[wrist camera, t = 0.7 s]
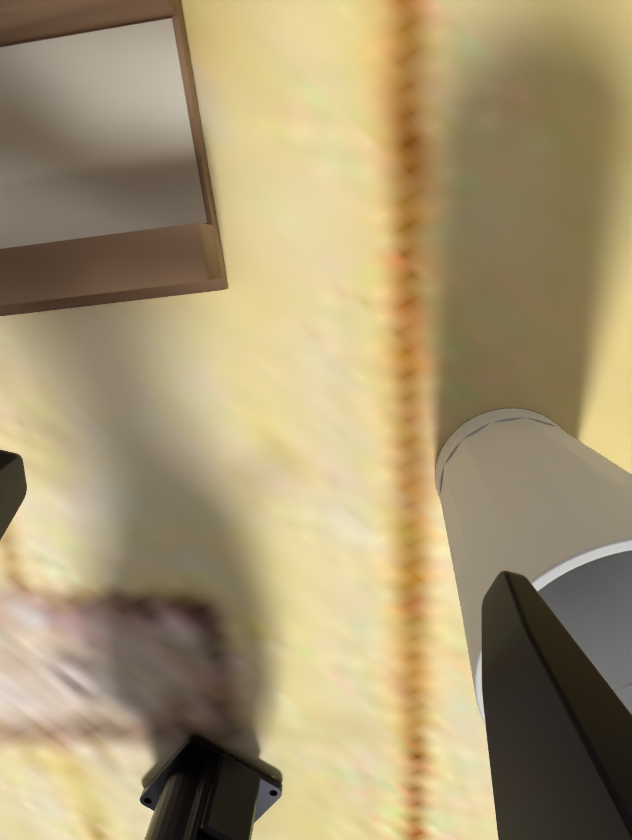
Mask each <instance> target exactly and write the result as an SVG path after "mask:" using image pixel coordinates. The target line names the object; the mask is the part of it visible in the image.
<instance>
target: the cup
mask: <svg viewBox="0 0 632 840" xmlns="http://www.w3.org/2000/svg"><path fill="white" fill-rule="evenodd" d="M435 484H436V489H437V493H438V496H439V499H440V501H441V504H442V510H443V515H444V520H445V525H446V531H447V536H448V541H449V547H450V552H451V557H452V563H453V568H454V573H455V578H456V584H457V589H458V594H459V600H460V605H461V610H462V617H463V623H464V629H465V635H466V641H467V647H468V653H469V659H470V665H471V671H472V677H473V683H474V689H475V695H476V700H477V705H478V708H479V711H480V714H481V717H482V719H483V721H484V724H485V726H486V723H485V715H484V706H483V695H482V650H481V607H482V601H483V598H484V596H485V594H486V593H487V591H488V589H489V588H490V586H491V585H492V583H493V582H494V580H495V578H496V577H497V575H498V574H499V573H500V572H501V571H510V572H514V573H518V574H522V575H524V576H525V577H526V578H527V579H528V580H529V581H530V582H531V584H532V585H533V586H534V588H535V589H536V590H537V592H538V593H539V594H540V595H541V597H542V598H543V599H544V601H545V602H546V603H547V605H548V606H549V607H550V609H551V610H552V611H553V612H554V614H555V615H556V616H557V618H558V619H559V620H560V622H561V623H562V624H563V625H564V627H565V628H566V629H567V631H568V632H569V633H570V635H571V636H572V637H573V638H574V640H575V641H576V642H577V644H578V645H579V646H580V648H581V649H582V650H583V652H584V653H585V654H586V655H587V657H588V658H589V659H590V661H591V662H592V663H593V665H594V666H595V667H596V668H597V670H598V671H599V672H600V674H601V675H602V676H603V678H604V679H605V680H606V681H607V683H608V684H609V685H610V687H611V688H612V689H613V691H614V692H615V693H616V695H617V696H618V697H619V698H620V700H621V701H622V702H623V704H624V705H625V706H626V708H627V709H628V710H629V711H630V713H631V714H632V474H630V473H628V472H627V471H625V470H624V469H622V468H621V467H619V466H618V465H616V464H614V463H613V462H611V461H610V460H608V459H607V458H605V457H604V456H602V455H600V454H599V453H597V452H596V451H594V450H593V449H591V448H590V447H588V446H586V445H585V444H583V443H582V442H580V441H579V440H577V439H576V438H574V437H572V436H571V435H569V434H568V433H566V432H565V431H564V430H562V429H561V428H560V427H559V426H558V425H557V424H556V423H554V422H553V421H552V420H550V419H549V418H547V417H545V416H543V415H541V414H539V413H536V412H533V411H529V410H524V409H516V408H507V409H498V410H493V411H489V412H486V413H483V414H481V415H478V416H476V417H474V418H472V419H470V420H469V421H467V422H466V423H464V424H463V425H462V426H460V427H459V428H458V429H457V430H456V431H455V432H454V433H453V434H452V435H451V436H450V437H449V439H448V440H447V441H446V443H445V444H444V446H443V448H442V450H441V452H440V454H439V457H438V460H437V464H436V469H435Z"/></svg>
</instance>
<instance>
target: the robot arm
mask: <svg viewBox="0 0 632 840" xmlns="http://www.w3.org/2000/svg"><path fill="white" fill-rule="evenodd" d="M26 491H27V484H26V478H25V471H24V465H23V459H22V457H21V456H20V455H19V454H17V453H12V452H8V451H4V450H0V540H1V538H2V536H3V535H4V533H5V531H6V529H7V528H8V526H9V524H10V523H11V521H12V519H13V517H14V516H15V514H16V512H17V510H18V509H19V507H20V505H21V504H22V502H23V500H24V498H25V495H26ZM481 650H482V695H483V706H484V715H485V723H486V732H487V741H488V750H489V759H490V768H491V777H492V785H493V794H494V803H495V812H496V821H497V830H498V838H499V840H632V714H631V713H630V711H629V710H628V709H627V708H626V706H625V705H624V704H623V702H622V701H621V700H620V698H619V697H618V696H617V695H616V693H615V692H614V691H613V689H612V688H611V687H610V685H609V684H608V683H607V681H606V680H605V679H604V678H603V676H602V675H601V674H600V672H599V671H598V670H597V668H596V667H595V666H594V665H593V663H592V662H591V661H590V659H589V658H588V657H587V655H586V654H585V653H584V652H583V650H582V649H581V648H580V646H579V645H578V644H577V642H576V641H575V640H574V638H573V637H572V636H571V635H570V633H569V632H568V631H567V629H566V628H565V627H564V625H563V624H562V623H561V622H560V620H559V619H558V618H557V616H556V615H555V614H554V612H553V611H552V610H551V609H550V607H549V606H548V605H547V603H546V602H545V601H544V599H543V598H542V597H541V595H540V594H539V593H538V592H537V590H536V589H535V588H534V586H533V585H532V584H531V582H530V581H529V580H528V579H527V578H526V577H525V576H524V575H522V574H518V573H514V572H510V571H501V572H500V573H499V574H498V575H497V577H496V578H495V580H494V582H493V583H492V585H491V586H490V588H489V589H488V591H487V593H486V594H485V596H484V598H483V601H482V607H481ZM281 795H282V784H281V783H280V782H279V781H277V780H275V779H273V778H271V777H270V776H268V775H266V774H264V773H263V772H261V771H259V770H257V769H256V768H254V767H252V766H250V765H249V764H247V763H245V762H243V761H242V760H240V759H238V758H236V757H235V756H233V755H231V754H229V753H228V752H226V751H224V750H222V749H221V748H219V747H217V746H215V745H213V744H212V743H210V742H208V741H206V740H205V739H203V738H201V737H199V736H191V737H189V738H188V739H187V741H186V742H185V743H184V744H183V745H182V746H181V748H180V749H179V750H178V751H177V752H176V753H175V754H174V756H173V757H172V758H171V759H170V760H169V761H168V763H167V764H166V765H165V766H164V767H163V768H162V769H161V771H160V772H159V773H158V774H157V775H156V776H155V778H154V779H153V780H152V781H151V782H150V783H149V784H148V786H147V787H146V788H145V789H144V790H143V792H142V795H141V797H140V802H141V803H142V804H143V805H144V806H146V807H148V808H150V809H152V810H154V814H153V817H152V819H151V822H150V825H149V828H148V831H147V834H146V837H145V840H251V836H252V830H253V824H254V822H255V821H257V820H258V819H259V818H260V817H261V816H262V815H263V814H264V813H265V812H266V811H267V810H268V809H269V808H270V807H271V806H272V805H273V804H274V803H275V802H276V801H277V800H278V799H279V798H280V797H281Z"/></svg>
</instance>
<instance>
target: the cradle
mask: <svg viewBox="0 0 632 840" xmlns="http://www.w3.org/2000/svg"><path fill="white" fill-rule="evenodd" d="M227 288H228V285H227V279H226V273H225V267H224V261H223V255H222V249H221V243H220V237H219V231H218V225H217V219H216V213H215V206H214V200H213V194H212V188H211V182H210V176H209V170H208V164H207V158H206V152H205V146H204V140H203V134H202V128H201V122H200V116H199V110H198V104H197V98H196V92H195V86H194V80H193V74H192V67H191V61H190V55H189V49H188V43H187V37H186V31H185V25H184V19H183V13H182V7H181V1H180V0H0V316H6V315H14V314H23V313H31V312H40V311H48V310H57V309H65V308H74V307H82V306H91V305H99V304H108V303H116V302H124V301H133V300H141V299H150V298H158V297H167V296H175V295H184V294H192V293H201V292H209V291H218V290H224V289H227Z"/></svg>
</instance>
